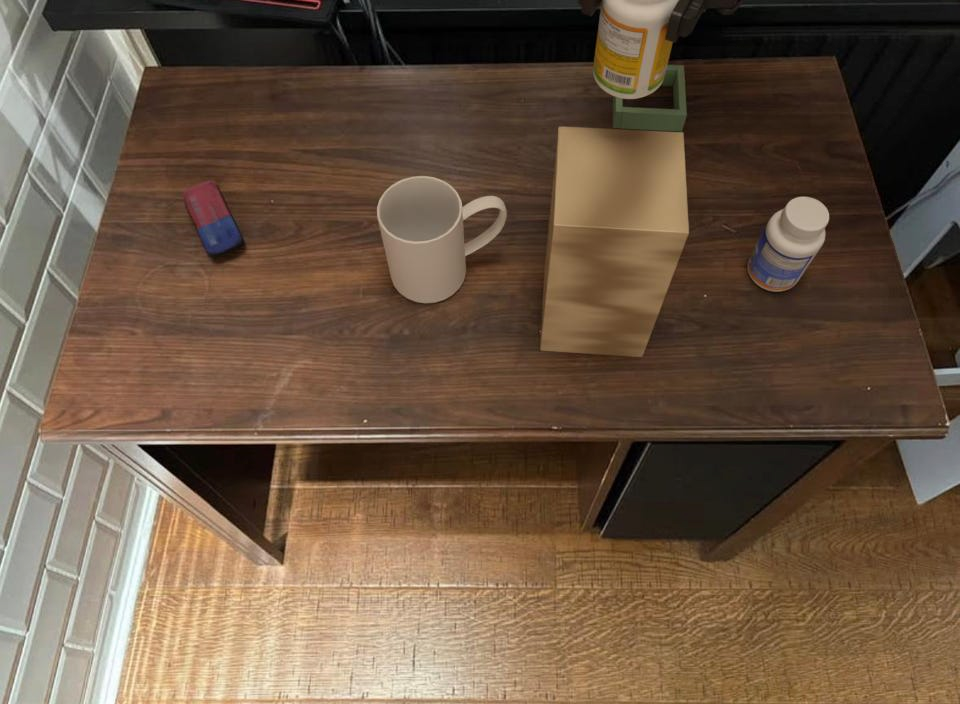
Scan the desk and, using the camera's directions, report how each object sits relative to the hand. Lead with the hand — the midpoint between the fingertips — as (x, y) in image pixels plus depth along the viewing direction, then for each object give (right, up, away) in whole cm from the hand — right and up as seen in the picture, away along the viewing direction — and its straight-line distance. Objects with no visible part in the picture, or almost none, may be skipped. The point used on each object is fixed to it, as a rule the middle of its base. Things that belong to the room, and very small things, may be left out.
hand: (629, 16), depth 49 cm
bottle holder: (+10, +7, +39) cm, 41 cm away
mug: (-13, -13, +29) cm, 35 cm away
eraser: (-39, -8, +32) cm, 51 cm away
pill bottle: (+20, -14, +28) cm, 37 cm away
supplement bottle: (+1, -1, +7) cm, 8 cm away
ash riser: (+1, -18, +26) cm, 32 cm away
